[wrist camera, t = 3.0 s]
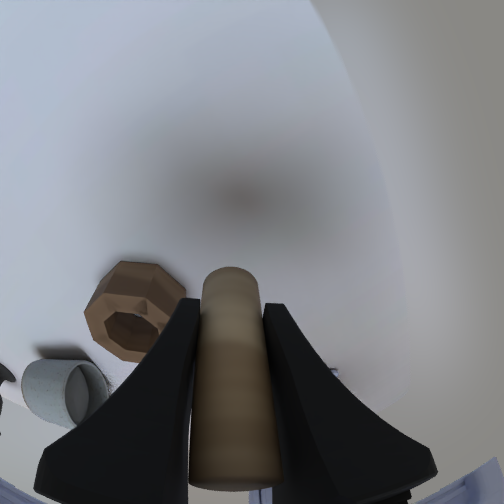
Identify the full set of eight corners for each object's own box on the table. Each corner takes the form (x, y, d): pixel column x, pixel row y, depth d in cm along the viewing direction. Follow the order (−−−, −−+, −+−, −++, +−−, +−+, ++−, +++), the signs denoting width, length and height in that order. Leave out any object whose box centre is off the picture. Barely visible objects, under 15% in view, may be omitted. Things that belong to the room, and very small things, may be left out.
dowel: (254, 311, 12) (274, 489, 5) (202, 308, 12) (190, 490, 5) (261, 268, 11) (294, 471, 4) (203, 264, 11) (184, 472, 4)
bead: (187, 333, 22) (182, 368, 19) (111, 325, 21) (99, 356, 18) (185, 266, 19) (177, 300, 16) (96, 258, 18) (76, 289, 15)
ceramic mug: (31, 345, 23) (6, 399, 16) (79, 344, 22) (55, 410, 16) (80, 397, 28) (67, 445, 22) (129, 399, 28) (119, 455, 22)
